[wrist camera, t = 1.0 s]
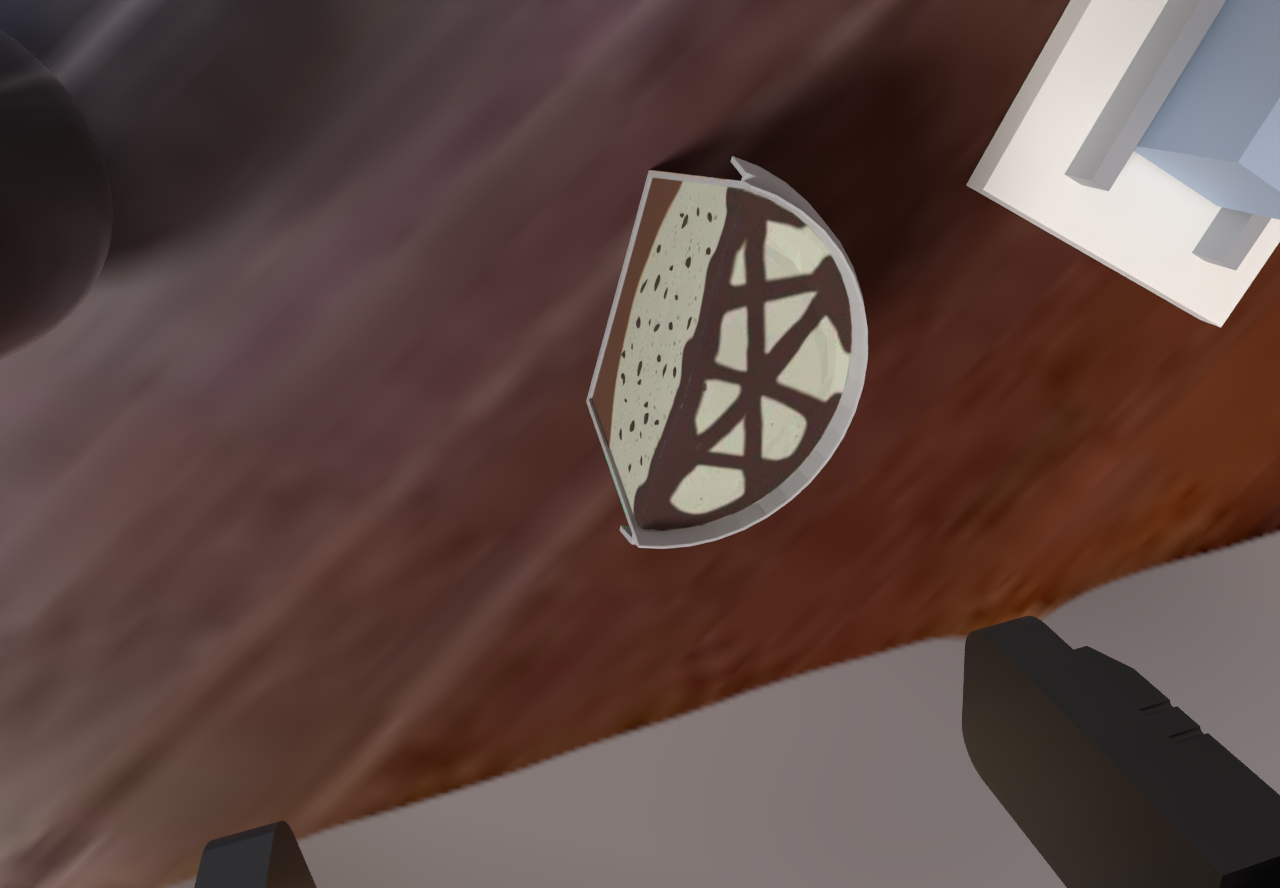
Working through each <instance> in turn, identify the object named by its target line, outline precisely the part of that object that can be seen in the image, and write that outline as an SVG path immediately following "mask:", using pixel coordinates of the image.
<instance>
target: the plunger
mask: <svg viewBox="0 0 1280 888" xmlns="http://www.w3.org/2000/svg"><path fill="white" fill-rule="evenodd" d="M1134 151H1135V152H1136V153H1138V154H1139V155H1141V156H1142V157H1144V158H1145V159H1147V160H1148V161H1150V162H1151V163H1153V164H1154V165H1156V166H1157V167H1159V168H1161V169H1162V170H1164V171H1165V172H1167V173H1168V174H1170V175H1171V176H1173V177H1174V178H1176V179H1177V180H1179V181H1180V182H1182V183H1183V184H1185V185H1186V186H1188V187H1189V188H1191V189H1192V190H1194V191H1195V192H1197V193H1199V194H1200V195H1202V196H1203V197H1205V198H1206V199H1208V200H1209V201H1211V202H1212V203H1214V204H1215V205H1217V206H1219V207H1223V208H1228V209H1232V210H1237V211H1242V212H1246V213H1251V214H1255V215H1260V216H1265V217H1269V218H1274V219H1279V220H1280V0H1226V2H1225V3H1224V5H1223V7H1222V8H1221V10H1220V12H1219V13H1218V15H1217V16H1216V18H1215V20H1214V21H1213V23H1212V25H1211V26H1210V28H1209V29H1208V31H1207V33H1206V34H1205V36H1204V38H1203V39H1202V41H1201V42H1200V44H1199V46H1198V47H1197V49H1196V51H1195V52H1194V54H1193V55H1192V57H1191V59H1190V60H1189V62H1188V64H1187V65H1186V67H1185V68H1184V70H1183V72H1182V73H1181V75H1180V77H1179V78H1178V80H1177V81H1176V83H1175V85H1174V86H1173V88H1172V90H1171V91H1170V93H1169V94H1168V96H1167V98H1166V99H1165V101H1164V103H1163V104H1162V106H1161V107H1160V109H1159V111H1158V112H1157V114H1156V116H1155V117H1154V119H1153V120H1152V122H1151V124H1150V125H1149V127H1148V129H1147V130H1146V132H1145V133H1144V135H1143V137H1142V138H1141V140H1140V142H1139V143H1138V145H1137V146H1136V148H1135V150H1134Z"/></svg>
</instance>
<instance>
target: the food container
mask: <svg viewBox="0 0 1280 888" xmlns="http://www.w3.org/2000/svg"><path fill="white" fill-rule="evenodd" d="M731 163H732V164H733V165H734V166H735V168H736V169H737V170H738V172H739V173H740V174H741V175H742V179H741V181H737V180H729V179H720V178H712V177H704V176H696V175H687V174H679V173H671V172H663V171H654V170H649V172H648V175H647V179H646V183H645V187H644V190H643V194H642V198H641V201H640V205H639V209H638V212H637V216H636V220H635V223H634V227H633V231H632V235H631V238H630V242H629V246H628V249H627V253H626V257H625V260H624V264H623V268H622V271H621V275H620V279H619V283H618V286H617V290H616V294H615V297H614V301H613V305H612V308H611V312H610V316H609V319H608V323H607V327H606V330H605V334H604V338H603V342H602V345H601V349H600V353H599V356H598V360H597V364H596V367H595V371H594V375H593V378H592V382H591V386H590V390H589V393H588V397H587V401H586V402H587V405H588V408H589V411H590V414H591V417H592V420H593V422H594V425H595V428H596V431H597V434H598V437H599V440H600V443H601V445H602V448H603V451H604V454H605V457H606V460H607V463H608V466H609V468H610V471H611V474H612V477H613V480H614V483H615V486H616V489H617V491H618V494H619V497H620V500H621V503H622V506H623V509H624V512H625V514H626V517H627V520H628V523H629V526H620V531H621V533H622V534H623V535H624V536H625V537H626V538H627V540H628V541H629V542H630V543H631V544H637V546H638V548H659V549H666V548H677V547H688V546H694V545H698V544H703V543H707V542H711V541H715V540H719V539H721V538H724V537H727V536H729V535H732V534H735V533H737V532H740V531H743V530H745V529H747V528H748V527H750V526H752V525H754V524H756V523H758V522H760V521H762V520H763V519H765V518H767V517H769V516H770V515H771V514H773V513H774V512H776V511H777V510H778V509H780V508H781V507H783V506H784V505H786V504H787V503H788V502H790V501H791V500H792V499H793V498H794V497H795V496H796V495H797V494H799V493H800V492H801V491H802V490H803V489H804V488H805V487H806V486H807V485H808V484H809V483H810V482H811V481H812V480H813V479H814V478H815V476H816V475H817V474H818V473H819V472H820V471H821V469H822V468H823V467H824V466H825V465H826V463H827V462H828V461H829V459H830V458H831V456H832V455H833V453H834V452H835V450H836V449H837V447H838V445H839V444H840V442H841V441H842V439H843V438H844V435H845V433H846V431H847V429H848V427H849V425H850V423H851V420H852V418H853V416H854V414H855V412H856V408H857V405H858V402H859V399H860V395H861V392H862V389H863V385H864V379H865V373H866V366H867V360H868V328H867V321H866V315H865V308H864V302H863V295H862V292H861V289H860V286H859V283H858V280H857V276H856V273H855V270H854V267H853V265H852V263H851V262H850V260H849V258H848V256H847V254H846V252H845V250H844V248H843V247H842V245H841V243H840V241H839V240H838V239H837V237H836V236H835V235H834V233H833V232H832V231H831V230H830V228H829V227H828V226H827V225H826V223H825V222H824V221H823V219H822V218H821V217H820V216H819V215H818V213H817V212H816V211H815V210H814V209H813V207H812V206H811V205H810V204H809V202H807V201H806V200H805V199H804V198H803V197H802V196H801V195H800V194H798V193H797V192H796V191H795V190H794V189H793V188H792V187H790V186H789V185H788V184H787V183H786V182H784V181H783V180H781V179H779V178H778V177H776V176H774V175H773V174H771V173H769V172H768V171H766V170H764V169H763V168H761V167H759V166H757V165H754V164H752V163H749V162H747V161H744V160H741V159H739V158H736V157H734V156H732V158H731Z"/></svg>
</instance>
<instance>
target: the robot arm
mask: <svg viewBox="0 0 1280 888" xmlns="http://www.w3.org/2000/svg"><path fill="white" fill-rule="evenodd" d="M964 661H965V662H964V686H963V709H962V731H963V737H964V742H965V744H966V748H967V751H968V754H969V756H970V759H971V761H972V763H973V765H974V767H975V769H976V771H977V772H978V774H979V775H980V777H981V778H982V779H983V781H984V782H985V784H986V785H987V786H988V787H989V789H990V790H991V791H992V792H993V794H994V795H995V796H996V797H997V799H998V800H999V801H1000V803H1001V804H1002V805H1003V806H1004V808H1005V809H1006V810H1007V812H1008V813H1009V814H1010V815H1011V817H1012V818H1013V819H1014V820H1015V822H1016V823H1017V824H1018V826H1019V827H1020V828H1021V829H1022V831H1023V832H1024V833H1025V835H1026V836H1027V837H1028V838H1029V840H1030V841H1031V842H1032V844H1033V845H1034V846H1035V847H1036V849H1037V850H1038V851H1039V853H1040V854H1041V855H1042V856H1043V858H1044V859H1045V860H1046V861H1047V863H1048V864H1049V865H1050V866H1051V868H1052V869H1053V870H1054V872H1055V873H1056V874H1057V876H1058V877H1059V878H1060V879H1061V881H1062V882H1063V883H1064V885H1065V886H1066V887H1067V888H1280V795H1279V794H1277V793H1276V792H1275V791H1274V790H1273V789H1272V788H1271V787H1270V786H1268V785H1267V784H1266V783H1265V782H1264V781H1263V780H1261V779H1260V778H1259V777H1258V776H1257V775H1256V774H1255V773H1253V772H1252V771H1251V770H1250V769H1249V768H1248V767H1246V766H1245V765H1244V764H1243V763H1242V762H1241V761H1240V760H1238V759H1237V758H1236V757H1235V756H1234V755H1233V754H1231V753H1230V752H1229V751H1228V750H1227V749H1226V748H1225V747H1223V746H1222V745H1221V744H1220V743H1219V742H1218V741H1216V740H1215V739H1214V738H1213V737H1212V736H1211V735H1210V734H1203V733H1202V731H1201V729H1200V726H1199V725H1198V724H1197V723H1196V722H1194V721H1193V720H1192V719H1191V718H1190V717H1189V716H1188V715H1186V714H1185V713H1184V712H1183V711H1182V710H1181V709H1180V708H1178V707H1172V705H1171V704H1170V700H1169V699H1168V698H1167V697H1166V696H1164V695H1163V694H1162V693H1161V692H1160V691H1159V690H1158V689H1156V688H1155V687H1154V686H1153V685H1152V684H1150V683H1149V682H1148V681H1147V680H1146V679H1145V678H1144V677H1142V676H1141V675H1140V674H1139V673H1138V672H1137V671H1135V670H1134V669H1133V668H1131V667H1129V666H1127V665H1125V664H1122V663H1121V662H1119V661H1117V660H1115V659H1113V658H1111V657H1108V656H1107V655H1105V654H1102V653H1100V652H1098V651H1096V650H1094V649H1092V648H1090V647H1088V646H1085V647H1082V648H1078V649H1075V650H1073V649H1072V648H1071V647H1070V646H1069V645H1068V644H1066V643H1065V642H1064V641H1063V640H1062V639H1061V638H1060V637H1059V636H1058V635H1057V634H1056V633H1054V632H1053V631H1052V630H1051V629H1050V628H1049V627H1048V626H1047V625H1046V624H1045V623H1043V622H1042V621H1041V620H1039V619H1037V618H1036V617H1032V616H1025V617H1022V618H1018V619H1015V620H1011V621H1007V622H1004V623H1000V624H997V625H993V626H989V627H986V628H982V629H979V630H975V631H972V632H971V633H969V635H968V636H967V639H966V643H965V660H964ZM195 888H317V887H316V885H315V883H314V880H313V878H312V876H311V873H310V871H309V869H308V867H307V864H306V862H305V860H304V857H303V855H302V853H301V850H300V848H299V846H298V843H297V841H296V838H295V836H294V834H293V832H292V830H291V828H290V826H289V825H288V824H287V823H286V822H285V821H279V822H276V823H272V824H269V825H265V826H261V827H258V828H254V829H251V830H247V831H243V832H240V833H236V834H233V835H229V836H225V837H222V838H218V839H215V840H211V841H210V842H209V843H208V844H207V845H206V847H205V849H204V851H203V854H202V858H201V862H200V866H199V870H198V875H197V879H196V883H195Z"/></svg>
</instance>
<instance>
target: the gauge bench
mask: <svg viewBox="0 0 1280 888" xmlns="http://www.w3.org/2000/svg"><path fill="white" fill-rule="evenodd" d="M1225 2H1226V0H1071V1H1070V2H1069V4H1068V6H1067V8H1066V9H1065V11H1064V13H1063V15H1062V16H1061V18H1060V20H1059V22H1058V24H1057V25H1056V27H1055V29H1054V31H1053V32H1052V34H1051V36H1050V38H1049V39H1048V41H1047V43H1046V45H1045V46H1044V48H1043V50H1042V52H1041V54H1040V55H1039V57H1038V59H1037V61H1036V62H1035V64H1034V66H1033V68H1032V69H1031V71H1030V73H1029V75H1028V76H1027V78H1026V80H1025V82H1024V84H1023V85H1022V87H1021V89H1020V91H1019V92H1018V94H1017V96H1016V98H1015V99H1014V101H1013V103H1012V105H1011V107H1010V108H1009V110H1008V112H1007V114H1006V115H1005V117H1004V119H1003V121H1002V122H1001V124H1000V126H999V128H998V129H997V131H996V133H995V135H994V137H993V138H992V140H991V142H990V144H989V145H988V147H987V149H986V151H985V152H984V154H983V156H982V158H981V160H980V161H979V163H978V165H977V167H976V168H975V170H974V172H973V174H972V175H971V177H970V179H969V181H968V182H967V184H966V185H967V186H968V187H970V188H972V189H973V190H975V191H977V192H979V193H980V194H982V195H984V196H986V197H987V198H989V199H991V200H993V201H994V202H996V203H998V204H1000V205H1001V206H1003V207H1005V208H1007V209H1008V210H1010V211H1012V212H1014V213H1015V214H1017V215H1019V216H1020V217H1022V218H1024V219H1026V220H1027V221H1029V222H1031V223H1033V224H1034V225H1036V226H1038V227H1040V228H1041V229H1043V230H1045V231H1047V232H1048V233H1050V234H1052V235H1054V236H1055V237H1057V238H1059V239H1061V240H1062V241H1064V242H1066V243H1067V244H1069V245H1071V246H1073V247H1074V248H1076V249H1078V250H1080V251H1081V252H1083V253H1085V254H1087V255H1088V256H1090V257H1092V258H1094V259H1095V260H1097V261H1099V262H1101V263H1102V264H1104V265H1106V266H1107V267H1109V268H1111V269H1113V270H1114V271H1116V272H1118V273H1120V274H1121V275H1123V276H1125V277H1127V278H1128V279H1130V280H1132V281H1134V282H1135V283H1137V284H1139V285H1141V286H1142V287H1144V288H1146V289H1148V290H1149V291H1151V292H1153V293H1154V294H1156V295H1158V296H1160V297H1161V298H1163V299H1165V300H1167V301H1168V302H1170V303H1172V304H1174V305H1175V306H1177V307H1179V308H1181V309H1182V310H1184V311H1186V312H1188V313H1189V314H1191V315H1193V316H1195V317H1196V318H1198V319H1200V320H1202V321H1205V322H1208V323H1210V324H1213V325H1216V326H1219V327H1222V325H1223V324H1224V322H1225V321H1226V320H1227V318H1228V317H1229V315H1230V314H1231V312H1232V311H1233V309H1234V308H1235V306H1236V305H1237V303H1238V302H1239V300H1240V299H1241V298H1242V296H1243V295H1244V293H1245V292H1246V290H1247V289H1248V287H1249V286H1250V284H1251V283H1252V281H1253V280H1254V279H1255V277H1256V276H1257V274H1258V273H1259V271H1260V270H1261V268H1262V267H1263V265H1264V264H1265V262H1266V261H1267V260H1268V258H1269V257H1270V255H1271V254H1272V252H1273V251H1274V249H1275V248H1276V246H1277V245H1278V243H1279V242H1280V220H1279V219H1274V218H1269V217H1265V216H1260V215H1255V214H1251V213H1246V212H1242V211H1237V210H1232V209H1228V208H1223V207H1219V206H1217V205H1215V204H1214V203H1212V202H1211V201H1209V200H1208V199H1206V198H1205V197H1203V196H1202V195H1200V194H1199V193H1197V192H1195V191H1194V190H1192V189H1191V188H1189V187H1188V186H1186V185H1185V184H1183V183H1182V182H1180V181H1179V180H1177V179H1176V178H1174V177H1173V176H1171V175H1170V174H1168V173H1167V172H1165V171H1164V170H1162V169H1161V168H1159V167H1157V166H1156V165H1154V164H1153V163H1151V162H1150V161H1148V160H1147V159H1145V158H1144V157H1142V156H1141V155H1139V154H1138V153H1136V152H1135V151H1134V150H1135V148H1136V146H1137V145H1138V143H1139V142H1140V140H1141V138H1142V137H1143V135H1144V133H1145V132H1146V130H1147V129H1148V127H1149V125H1150V124H1151V122H1152V120H1153V119H1154V117H1155V116H1156V114H1157V112H1158V111H1159V109H1160V107H1161V106H1162V104H1163V103H1164V101H1165V99H1166V98H1167V96H1168V94H1169V93H1170V91H1171V90H1172V88H1173V86H1174V85H1175V83H1176V81H1177V80H1178V78H1179V77H1180V75H1181V73H1182V72H1183V70H1184V68H1185V67H1186V65H1187V64H1188V62H1189V60H1190V59H1191V57H1192V55H1193V54H1194V52H1195V51H1196V49H1197V47H1198V46H1199V44H1200V42H1201V41H1202V39H1203V38H1204V36H1205V34H1206V33H1207V31H1208V29H1209V28H1210V26H1211V25H1212V23H1213V21H1214V20H1215V18H1216V16H1217V15H1218V13H1219V12H1220V10H1221V8H1222V7H1223V5H1224V3H1225Z"/></svg>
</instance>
